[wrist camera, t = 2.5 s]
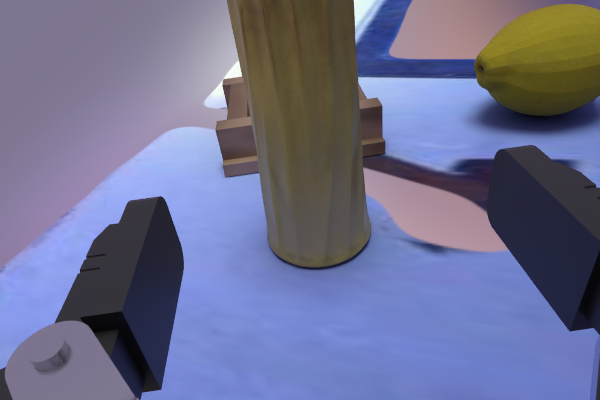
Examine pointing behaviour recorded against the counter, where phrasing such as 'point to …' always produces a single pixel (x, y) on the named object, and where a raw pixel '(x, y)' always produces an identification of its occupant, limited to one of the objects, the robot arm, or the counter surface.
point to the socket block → (240, 137)
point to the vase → (305, 125)
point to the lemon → (544, 61)
